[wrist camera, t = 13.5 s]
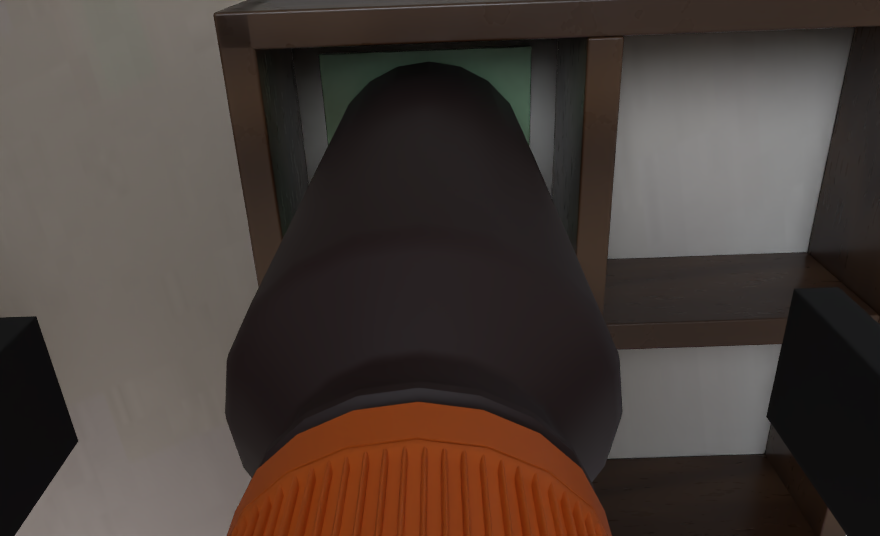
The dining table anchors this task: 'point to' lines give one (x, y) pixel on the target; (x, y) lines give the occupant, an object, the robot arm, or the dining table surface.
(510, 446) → the vinegar
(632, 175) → the dining table surface
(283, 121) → the wooden box with compartments
